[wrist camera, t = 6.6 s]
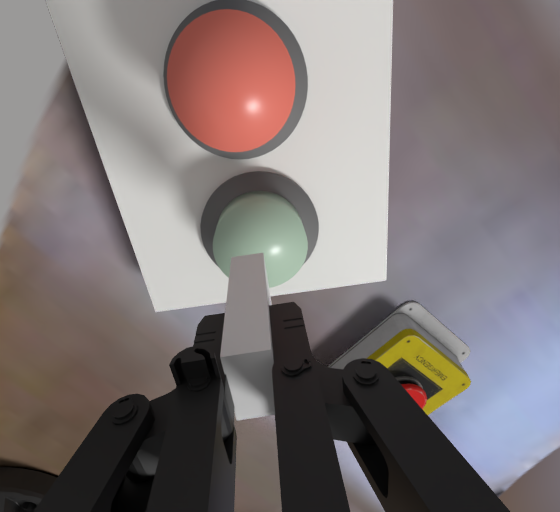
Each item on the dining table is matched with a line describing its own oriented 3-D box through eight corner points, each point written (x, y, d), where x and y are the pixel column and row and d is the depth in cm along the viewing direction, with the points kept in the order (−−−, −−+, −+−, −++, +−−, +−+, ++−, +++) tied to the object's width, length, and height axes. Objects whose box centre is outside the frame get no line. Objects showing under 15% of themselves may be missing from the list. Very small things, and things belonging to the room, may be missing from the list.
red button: (193, 150, 17) (184, 159, 15) (164, 27, 15) (150, 18, 13) (295, 136, 17) (301, 143, 15) (283, 11, 15) (288, 0, 13)
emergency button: (501, 384, 28) (364, 475, 32) (470, 347, 31) (352, 433, 36) (434, 327, 24) (292, 436, 29) (409, 293, 28) (288, 394, 33)
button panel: (166, 288, 26) (154, 315, 23) (-4, -232, 14) (-74, -318, 11) (372, 260, 26) (388, 283, 23) (374, -284, 14) (406, -384, 11)
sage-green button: (226, 275, 22) (223, 294, 20) (208, 197, 19) (203, 210, 17) (306, 264, 22) (311, 282, 20) (298, 185, 19) (303, 196, 17)
